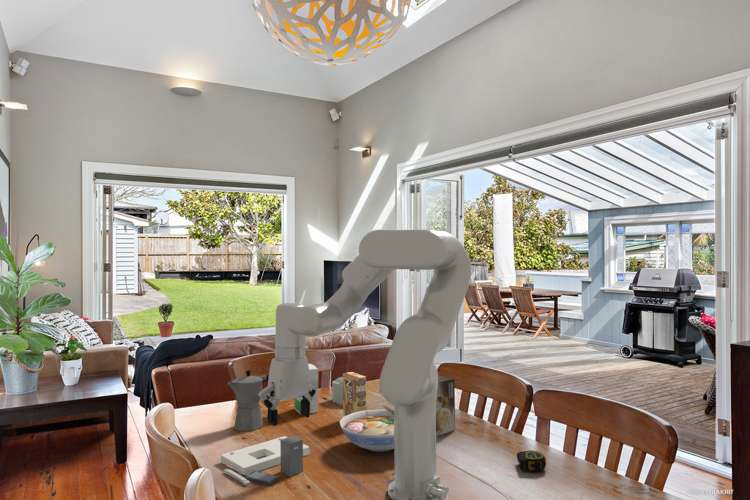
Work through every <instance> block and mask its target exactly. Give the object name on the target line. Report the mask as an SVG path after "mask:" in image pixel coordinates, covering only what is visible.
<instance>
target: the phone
mask: <svg viewBox="0 0 750 500" xmlns="http://www.w3.org/2000/svg"><path fill="white" fill-rule="evenodd" d="M244 478H245V479H247V480H249V481H252V482H251V483H255V484H259V483H260V485H263V484H264V486H267V485H268V487H270V486H272V485H273V484H275V483H277V482H278V481H280V476H279V475H274V474H271V473H265V472H261V471H258V472H257V471H254V472H252V473H250V474H249V475H246V476H244Z"/></svg>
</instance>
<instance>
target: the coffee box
mask: <svg viewBox="0 0 750 500" xmlns="http://www.w3.org/2000/svg"><path fill="white" fill-rule="evenodd" d="M455 386H456V385H455V378H453V377H450V376H444V375H438V388H437V398H436V437H440V436H441V435H442V436H443V435H445V434H448V433H450V432H454V431H456V394H455V388H456V387H455Z"/></svg>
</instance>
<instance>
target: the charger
mask: <svg viewBox="0 0 750 500" xmlns="http://www.w3.org/2000/svg"><path fill="white" fill-rule="evenodd" d="M303 444H304V439H302V438H299V437H298V436H295V435H292V436H289V437H288V438H285V439H281V440H280V449H281V464H280V473H282V474H285V475H286V476H288V477H293V476H295V475H297V474H301V473H304V456H303Z"/></svg>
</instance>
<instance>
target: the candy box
mask: <svg viewBox="0 0 750 500" xmlns="http://www.w3.org/2000/svg"><path fill="white" fill-rule="evenodd" d="M342 377H343V404H342V406H343V407H342V409H343V412H342V413H343V417H344V416H347V415H349V414H352V413H355V412H360V411H365V410H368V409H367V404H368V403H366V383H367V376H365V375H362V374H359V373H357V372H353V371H351V372H350V371H349V372H343V373H342Z"/></svg>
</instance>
